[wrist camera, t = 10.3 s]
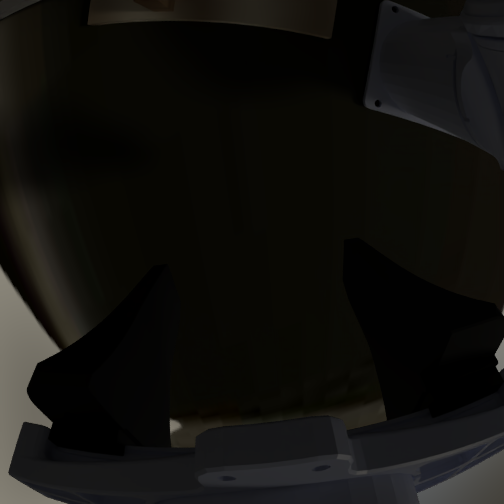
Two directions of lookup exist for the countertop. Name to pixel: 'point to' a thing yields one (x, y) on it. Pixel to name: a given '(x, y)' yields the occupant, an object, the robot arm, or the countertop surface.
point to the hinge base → (223, 13)
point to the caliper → (13, 6)
